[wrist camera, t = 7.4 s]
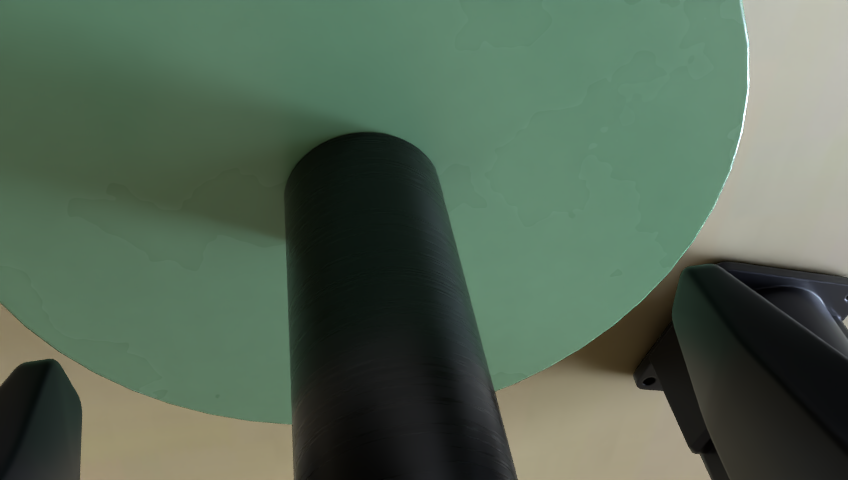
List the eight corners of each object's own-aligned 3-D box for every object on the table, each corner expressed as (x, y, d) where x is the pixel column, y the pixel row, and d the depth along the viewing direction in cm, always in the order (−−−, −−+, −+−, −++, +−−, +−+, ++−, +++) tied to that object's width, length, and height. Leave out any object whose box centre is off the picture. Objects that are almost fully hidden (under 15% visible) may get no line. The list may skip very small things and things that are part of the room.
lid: (881, -127, 11) (1408, 192, 6) (546, 398, 19) (654, 738, 14) (-120, -465, 7) (-944, -373, 2) (-36, 361, 15) (-189, 809, 10)
